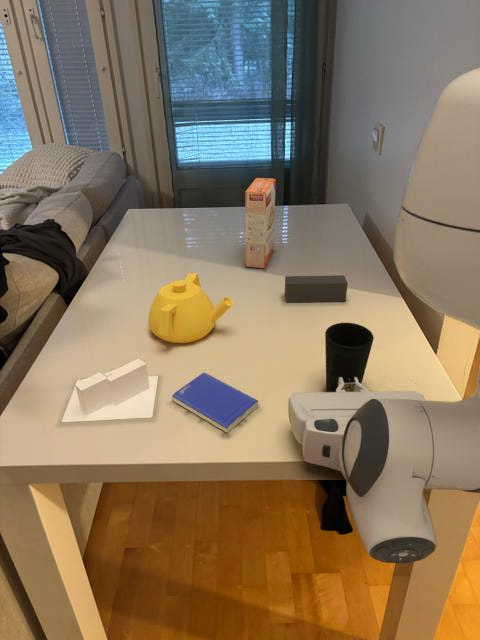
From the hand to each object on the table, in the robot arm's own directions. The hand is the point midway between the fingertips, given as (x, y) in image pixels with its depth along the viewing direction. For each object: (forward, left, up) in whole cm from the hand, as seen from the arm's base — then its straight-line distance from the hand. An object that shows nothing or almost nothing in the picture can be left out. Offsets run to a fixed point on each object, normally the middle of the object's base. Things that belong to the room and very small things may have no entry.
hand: (347, 380), depth 75 cm
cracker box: (+12, -62, -6) cm, 64 cm away
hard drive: (+22, -1, -6) cm, 23 cm away
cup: (-1, -4, -6) cm, 7 cm away
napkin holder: (+40, -3, -6) cm, 40 cm away
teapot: (+28, -25, -6) cm, 38 cm away
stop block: (0, -38, -6) cm, 39 cm away
